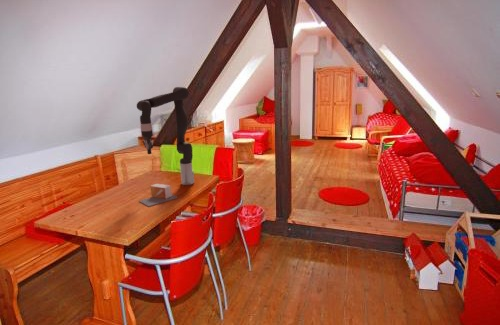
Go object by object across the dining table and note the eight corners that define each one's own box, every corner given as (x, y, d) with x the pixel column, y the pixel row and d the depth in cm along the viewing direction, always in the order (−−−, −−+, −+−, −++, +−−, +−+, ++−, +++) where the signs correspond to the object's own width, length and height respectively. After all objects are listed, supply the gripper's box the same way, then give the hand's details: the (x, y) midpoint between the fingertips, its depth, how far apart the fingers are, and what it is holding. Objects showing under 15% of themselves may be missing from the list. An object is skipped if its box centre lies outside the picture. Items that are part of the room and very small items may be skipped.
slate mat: (167, 193, 223) (167, 192, 222) (178, 197, 213) (178, 197, 213) (139, 201, 208) (138, 200, 208) (148, 206, 198) (148, 206, 198)
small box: (150, 186, 213) (164, 188, 207) (156, 183, 218) (170, 185, 213) (151, 196, 215) (165, 199, 209) (157, 194, 220) (171, 196, 215)
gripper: (156, 130, 210) (159, 154, 215) (147, 128, 219) (149, 151, 224) (146, 131, 205) (149, 156, 210) (137, 129, 214) (140, 153, 219)
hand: (149, 154), depth 217 cm, fingers closed
